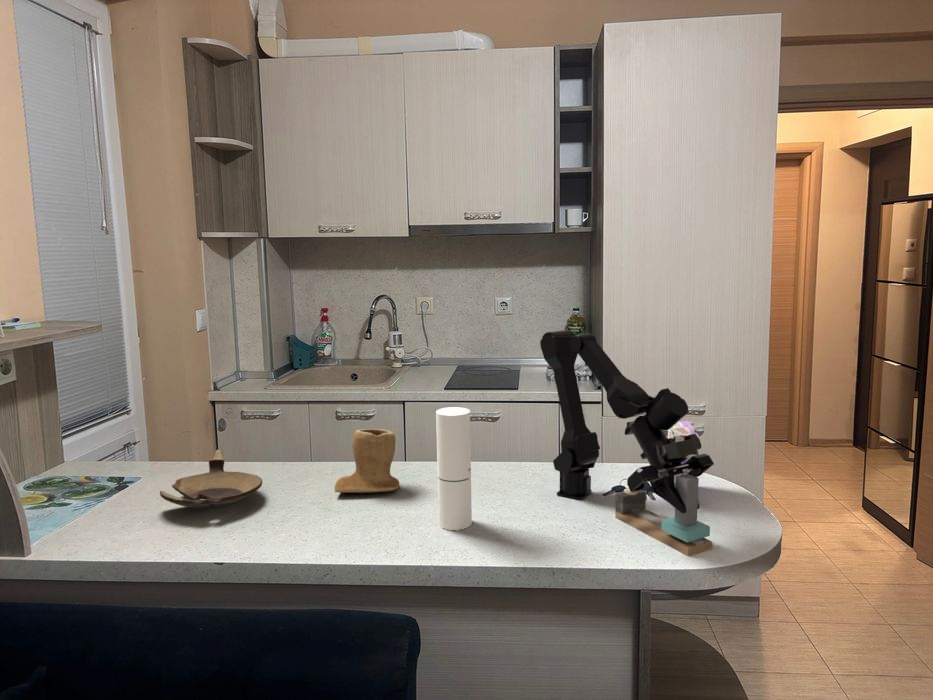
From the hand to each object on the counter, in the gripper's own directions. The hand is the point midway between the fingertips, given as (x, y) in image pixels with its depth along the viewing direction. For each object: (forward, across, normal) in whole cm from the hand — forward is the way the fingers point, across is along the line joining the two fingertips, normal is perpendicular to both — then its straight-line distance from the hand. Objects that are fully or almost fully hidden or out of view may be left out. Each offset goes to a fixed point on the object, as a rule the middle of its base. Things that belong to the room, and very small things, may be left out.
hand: (691, 510), depth 139 cm
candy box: (-10, +19, +21) cm, 30 cm away
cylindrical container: (-18, -35, +29) cm, 49 cm away
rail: (0, 0, +11) cm, 11 cm away
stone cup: (-39, -44, +50) cm, 77 cm away
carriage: (+3, 0, +5) cm, 5 cm away
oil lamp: (-47, -78, +58) cm, 108 cm away
